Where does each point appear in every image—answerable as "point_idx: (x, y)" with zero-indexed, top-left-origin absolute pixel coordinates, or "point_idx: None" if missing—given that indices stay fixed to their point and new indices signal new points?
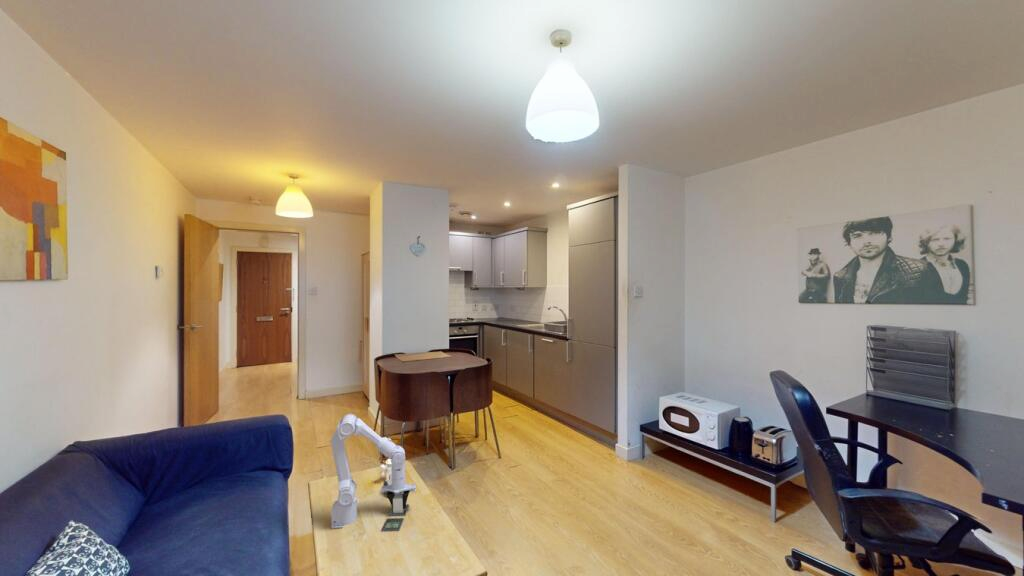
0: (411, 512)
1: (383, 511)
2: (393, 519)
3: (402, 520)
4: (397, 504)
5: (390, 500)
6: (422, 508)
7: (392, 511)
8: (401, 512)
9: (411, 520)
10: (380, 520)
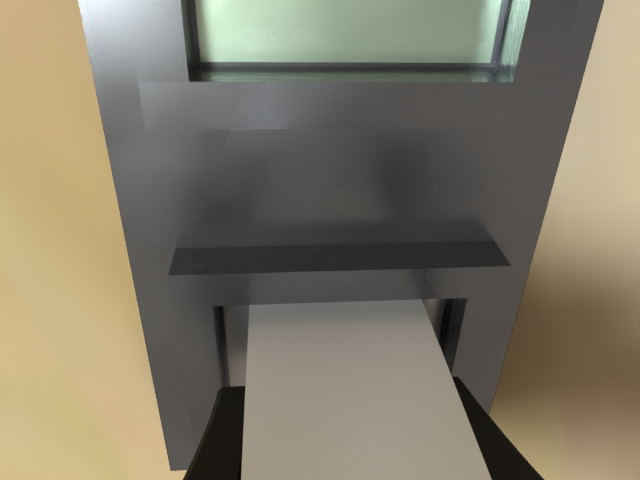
0: (138, 362)
1: (570, 377)
2: (380, 81)
3: (131, 27)
4: (368, 455)
5: None
6: (4, 438)
7: (444, 353)
8: (270, 321)
9: (32, 165)
10: (616, 182)
